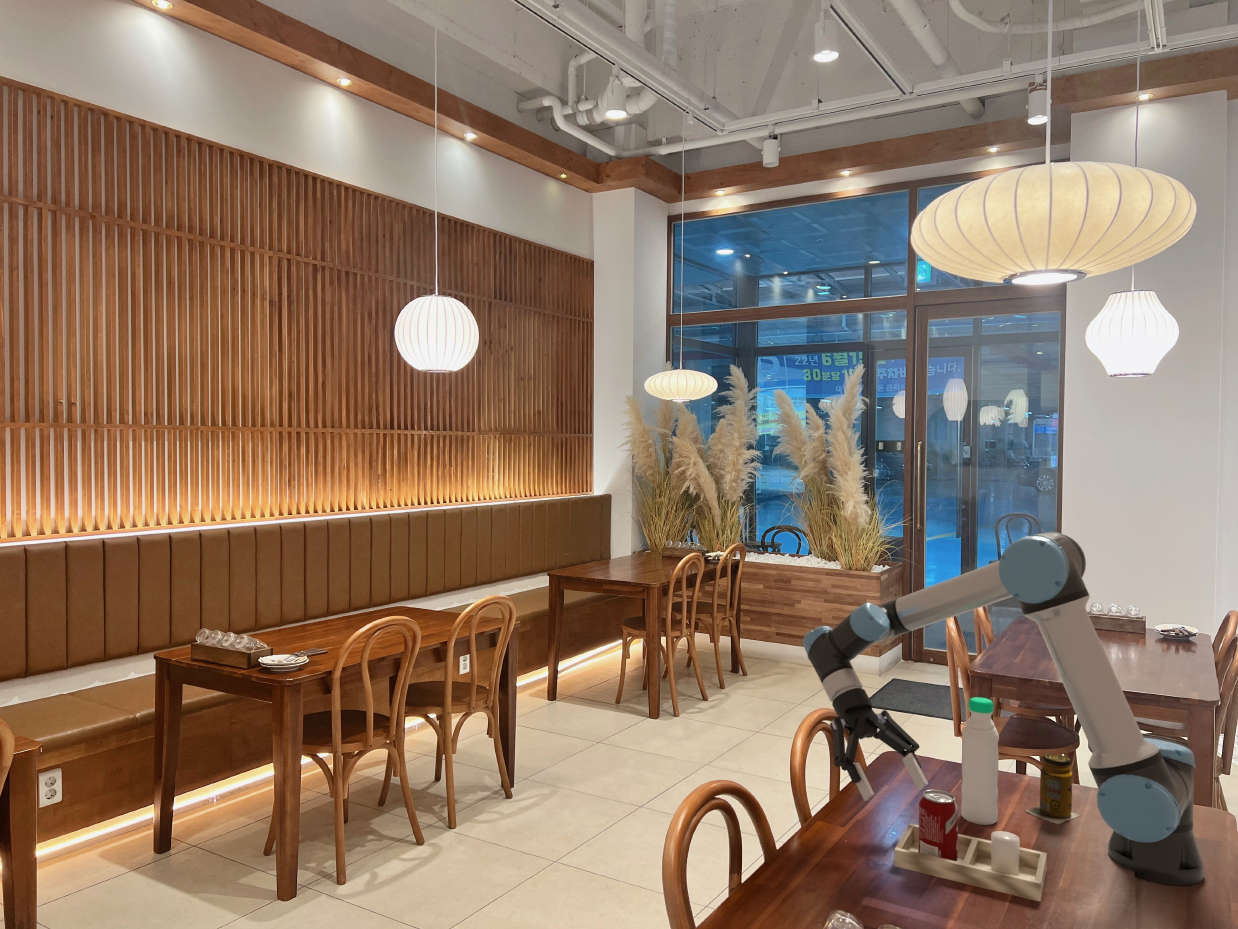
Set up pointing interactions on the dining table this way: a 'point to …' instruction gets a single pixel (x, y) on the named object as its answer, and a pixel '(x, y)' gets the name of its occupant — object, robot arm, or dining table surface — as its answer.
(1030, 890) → the drink caddy
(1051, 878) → the dining table surface
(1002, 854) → the salt shaker
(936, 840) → the soda can
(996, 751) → the water bottle
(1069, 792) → the condiment
